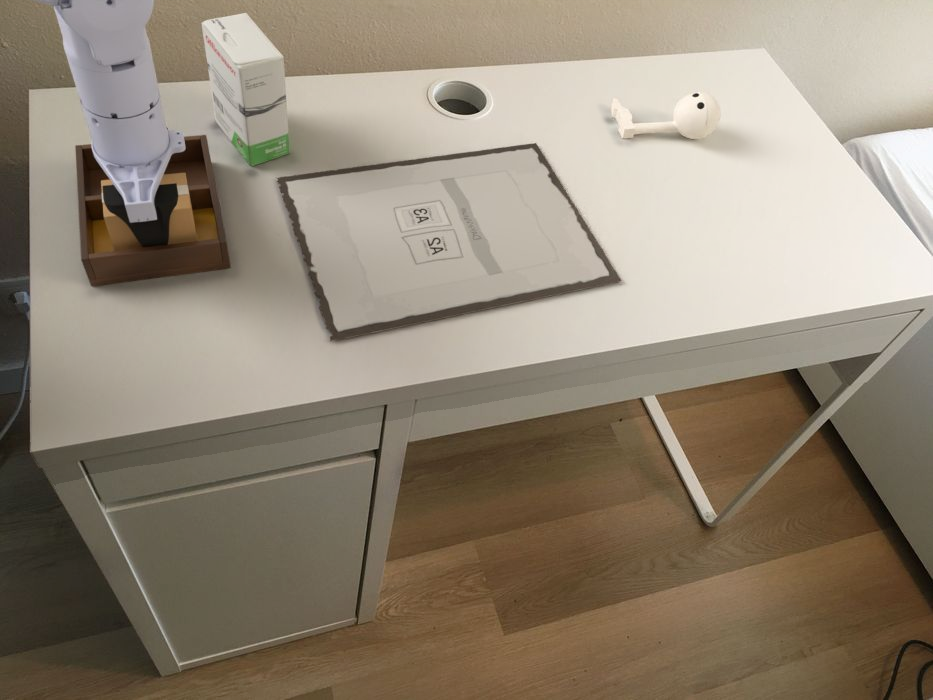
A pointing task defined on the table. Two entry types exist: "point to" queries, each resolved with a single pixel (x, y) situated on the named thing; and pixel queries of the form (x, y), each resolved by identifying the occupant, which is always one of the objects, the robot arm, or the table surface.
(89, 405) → the table surface
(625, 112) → the figurine
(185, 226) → the parcel
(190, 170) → the tray
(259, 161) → the ink box
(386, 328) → the picture frame
